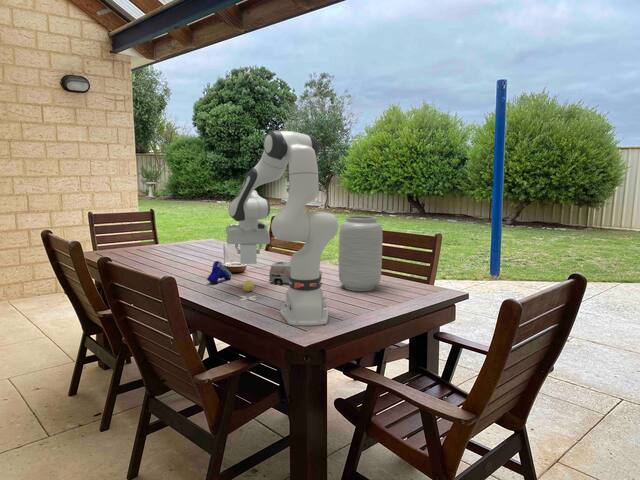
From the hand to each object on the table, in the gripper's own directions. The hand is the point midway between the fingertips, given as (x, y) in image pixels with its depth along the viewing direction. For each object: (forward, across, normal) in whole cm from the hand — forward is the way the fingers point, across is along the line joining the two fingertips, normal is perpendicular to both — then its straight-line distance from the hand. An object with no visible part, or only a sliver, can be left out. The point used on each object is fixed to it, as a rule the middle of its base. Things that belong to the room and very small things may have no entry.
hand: (248, 253), depth 218 cm
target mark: (+15, 0, -23) cm, 27 cm away
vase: (+15, +52, -8) cm, 55 cm away
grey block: (+4, 0, 0) cm, 4 cm away
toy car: (+16, +23, +3) cm, 28 cm away
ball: (+13, 0, -11) cm, 17 cm away
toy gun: (+16, -14, +9) cm, 23 cm away
